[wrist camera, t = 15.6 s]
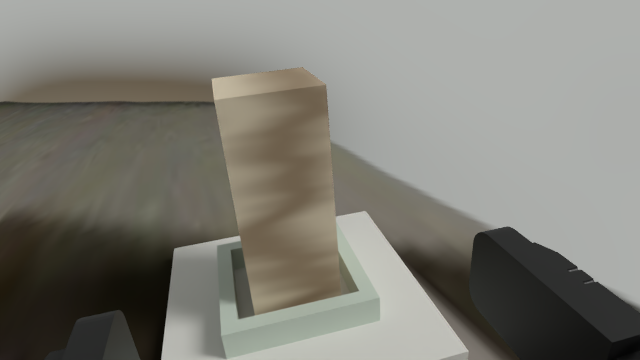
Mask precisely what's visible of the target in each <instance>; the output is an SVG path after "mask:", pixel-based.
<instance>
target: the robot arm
mask: <svg viewBox="0 0 640 360" xmlns="http://www.w3.org/2000/svg"><path fill="white" fill-rule="evenodd" d="M469 289H470V294H471V298H472V300H473V302H474V304H475V306H476V308H477V309H478V311H479V312H480V313H481V314H482V315H483V316H484V318H485V319H486V320H487V321H488V322H489V323H490V325H491V326H492V327H493V328H494V329H495V330H496V332H497V333H498V334H499V335H500V336H501V337H502V338H503V340H504V341H505V342H506V343H507V344H508V345H509V347H510V348H511V349H512V350H513V351H514V352H515V354H516V355H517V356H518V357H519V358H520V359H521V360H640V313H639V312H638V311H636V310H635V309H634V308H632V307H631V306H630V305H628V304H627V303H625V302H624V301H623V300H621V299H620V298H619V297H617V296H616V295H615V294H613V293H612V292H611V291H609V290H608V289H607V288H605V287H604V286H602V285H601V284H600V283H598V282H594V280H593V278H592V277H590V276H589V275H588V274H586V273H585V272H584V271H582V270H578V268H577V266H575V265H574V264H573V263H571V262H570V261H569V260H567V259H566V258H565V257H563V256H562V255H561V254H559V253H558V252H555V251H553V250H551V249H548V248H546V247H544V246H542V245H539V244H537V243H532V242H530V241H529V240H528V239H526V238H525V237H524V236H522V235H521V234H520V233H518V232H517V231H516V230H515V229H513V228H511V227H503V228H498V229H494V230H489V231H485V232H480V233H478V234H477V235H476V236H475V238H474V242H473V251H472V261H471V270H470V280H469ZM44 360H140V358H139V356H138V353H137V350H136V347H135V344H134V342H133V339H132V336H131V333H130V330H129V328H128V325H127V322H126V319H125V317H124V314H123V313H122V312H121V311H120V310H116V311H112V312H107V313H102V314H98V315H93V316H89V317H84V318H80V319H78V320H77V321H76V323H75V325H74V328H73V331H72V333H71V336H70V338H69V341H68V344H67V346H66V349H62V350H58V351H54V352H50V353H49V354H48V356H47V357H46V358H45V359H44Z"/></svg>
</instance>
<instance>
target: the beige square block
mask: <svg viewBox="0 0 640 360" xmlns="http://www.w3.org/2000/svg"><path fill="white" fill-rule="evenodd" d="M212 86H213V94H214V102H215V107H216V112H217V118H218V123H219V128H220V133H221V139H222V144H223V149H224V155H225V160H226V165H227V170H228V176H229V181H230V186H231V192H232V197H233V202H234V207H235V213H236V218H237V223H238V229H239V234H240V239H241V245H242V250H243V255H244V260H245V266H246V271H247V276H248V282H249V287H250V292H251V297H252V303H253V308H254V313H255V316H256V315H260V314H264V313H268V312H273V311H277V310H281V309H285V308H290V307H294V306H298V305H302V304H307V303H311V302H315V301H319V300H324V299H328V298H332V297H336V296H341V284H340V270H339V256H338V242H337V229H336V215H335V201H334V187H333V173H332V160H331V146H330V133H329V118H328V105H327V91H326V84H325V83H323V82H322V81H320V80H319V79H318V78H316V77H315V76H314V75H312V74H311V73H310V72H308V71H307V70H305V69H304V68H303V67H301V68H293V69H285V70H277V71H269V72H261V73H253V74H246V75H237V76H229V77H222V78H214V79H212Z"/></svg>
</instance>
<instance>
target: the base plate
mask: <svg viewBox="0 0 640 360" xmlns="http://www.w3.org/2000/svg"><path fill="white" fill-rule="evenodd" d="M336 229H337V242H338V256H339V270H340V284H341V296H336V297H332V298H328V299H324V300H319V301H315V302H311V303H307V304H302V305H298V306H294V307H290V308H285V309H281V310H277V311H273V312H268V313H264V314H260V315H256V316H255V313H254V308H253V303H252V297H251V292H250V287H249V282H248V276H247V271H246V266H245V260H244V255H243V250H242V245H241V239H240V236H236V237H231V238H226V239H221V240H216V241H211V242H206V243H201V244H196V245H191V246H186V247H180V248H175V249H174V255H173V264H172V272H171V281H170V289H169V298H168V306H167V315H166V323H165V332H164V340H163V349H162V357H161V360H468V352H469V351H468V350H467V349H466V347H465V346H464V344H463V343H462V342H461V340H460V339H459V338H458V336H457V335H456V334H455V332H454V331H453V329H452V328H451V327H450V325H449V324H448V323H447V321H446V320H445V319H444V317H443V316H442V315H441V313H440V312H439V310H438V309H437V308H436V306H435V305H434V304H433V302H432V301H431V300H430V298H429V297H428V295H427V294H426V293H425V291H424V290H423V289H422V287H421V286H420V285H419V283H418V282H417V280H416V279H415V278H414V276H413V275H412V274H411V272H410V271H409V270H408V268H407V267H406V266H405V264H404V263H403V261H402V260H401V259H400V257H399V256H398V255H397V253H396V252H395V251H394V249H393V248H392V246H391V245H390V244H389V242H388V241H387V240H386V238H385V237H384V236H383V234H382V233H381V231H380V230H379V229H378V227H377V226H376V225H375V223H374V222H373V221H372V219H371V218H370V217H369V215H368V214H367V212H366V211H363V212H358V213H353V214H347V215H342V216H337V217H336Z"/></svg>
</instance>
